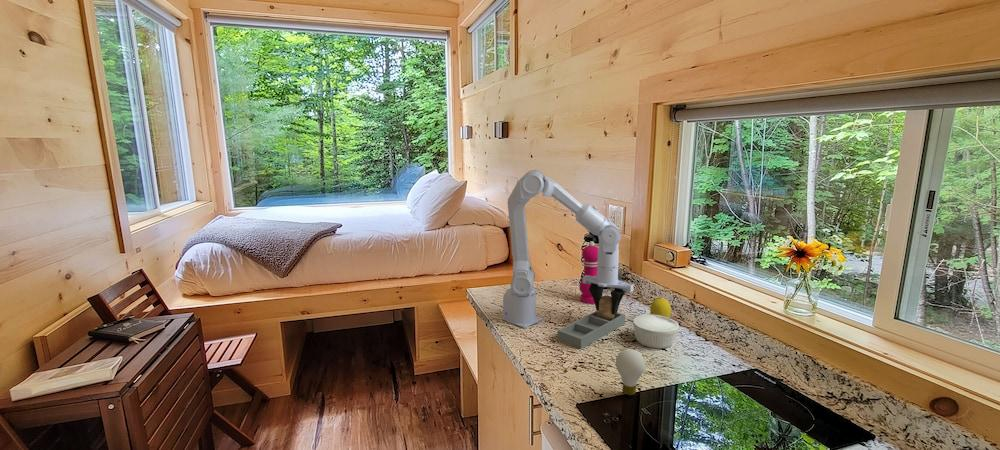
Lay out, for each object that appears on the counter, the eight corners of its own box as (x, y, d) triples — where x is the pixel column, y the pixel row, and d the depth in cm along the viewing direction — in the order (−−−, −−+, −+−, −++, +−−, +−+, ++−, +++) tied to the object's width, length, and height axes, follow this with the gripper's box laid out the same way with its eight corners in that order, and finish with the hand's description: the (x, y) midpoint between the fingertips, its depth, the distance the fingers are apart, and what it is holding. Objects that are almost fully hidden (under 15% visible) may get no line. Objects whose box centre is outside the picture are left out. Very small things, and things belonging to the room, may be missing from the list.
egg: (595, 318, 129) (596, 296, 127) (602, 313, 132) (603, 292, 131) (610, 322, 126) (610, 299, 125) (616, 317, 129) (617, 295, 128)
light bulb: (610, 387, 97) (612, 344, 95) (637, 386, 98) (639, 343, 96) (620, 403, 91) (621, 358, 89) (648, 401, 92) (650, 356, 90)
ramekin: (684, 340, 119) (685, 321, 118) (666, 355, 111) (667, 335, 110) (644, 328, 126) (644, 310, 125) (624, 342, 118) (625, 323, 117)
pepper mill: (604, 299, 149) (606, 240, 145) (597, 306, 143) (598, 244, 139) (584, 295, 153) (585, 237, 149) (575, 302, 147) (576, 242, 143)
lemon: (671, 328, 126) (673, 301, 124) (650, 327, 127) (652, 300, 125) (668, 320, 131) (670, 294, 129) (648, 319, 132) (649, 293, 131)
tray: (557, 340, 120) (557, 330, 119) (602, 316, 135) (602, 307, 134) (580, 349, 115) (581, 339, 114) (624, 323, 129) (625, 314, 129)
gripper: (577, 264, 127) (577, 310, 130) (626, 273, 118) (625, 322, 121) (589, 259, 133) (588, 302, 135) (637, 267, 124) (635, 313, 127)
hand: (606, 311), depth 129 cm, fingers closed on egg, 4 cm apart
